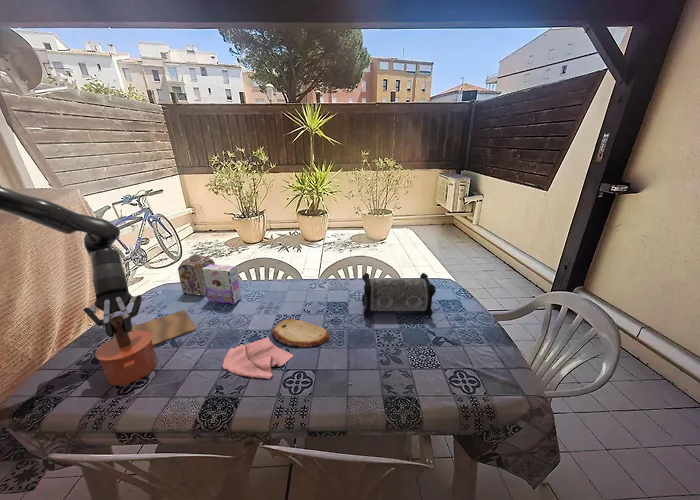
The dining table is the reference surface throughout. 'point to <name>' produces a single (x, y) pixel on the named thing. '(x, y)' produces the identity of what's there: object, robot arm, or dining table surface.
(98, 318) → the robot arm
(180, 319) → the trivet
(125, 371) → the pot
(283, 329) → the slice of bread
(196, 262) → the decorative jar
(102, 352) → the lid
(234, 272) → the candy box
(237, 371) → the cloth
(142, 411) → the dining table surface
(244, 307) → the dining table surface
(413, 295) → the speaker
